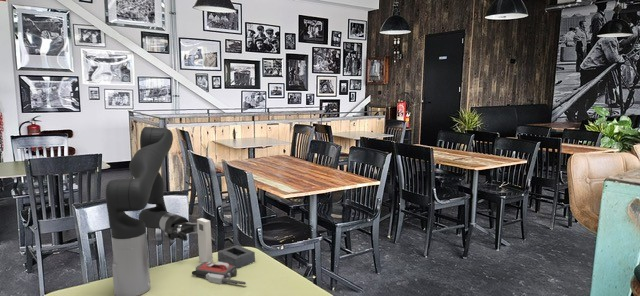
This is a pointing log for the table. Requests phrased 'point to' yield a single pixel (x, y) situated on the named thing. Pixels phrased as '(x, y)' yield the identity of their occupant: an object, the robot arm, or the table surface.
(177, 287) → the table surface
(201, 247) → the white tall block
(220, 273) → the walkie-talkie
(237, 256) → the holder
